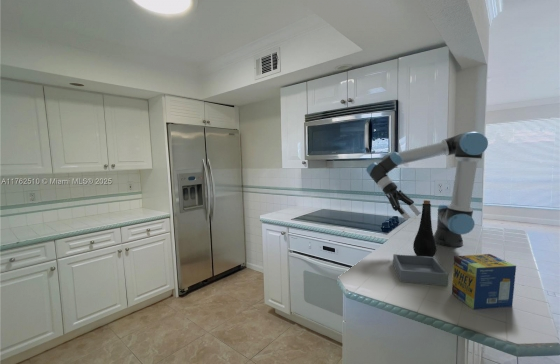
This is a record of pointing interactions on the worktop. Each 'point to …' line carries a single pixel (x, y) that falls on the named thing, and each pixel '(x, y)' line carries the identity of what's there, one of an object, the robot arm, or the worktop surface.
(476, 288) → the protein box
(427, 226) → the bottle
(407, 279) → the tray
